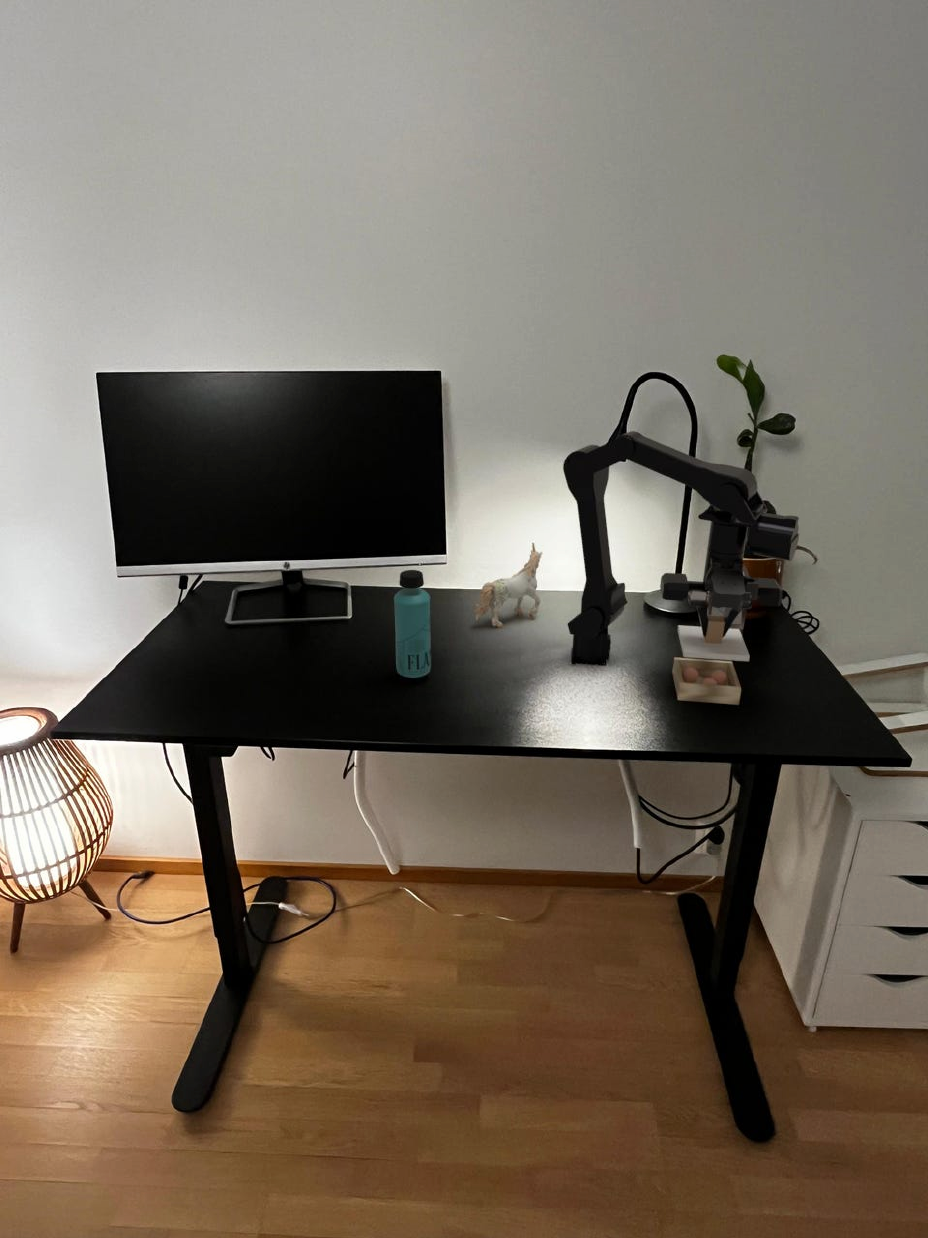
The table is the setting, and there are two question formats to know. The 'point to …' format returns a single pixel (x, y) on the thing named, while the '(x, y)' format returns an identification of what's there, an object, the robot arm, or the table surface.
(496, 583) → the unicorn figurine
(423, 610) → the beverage bottle
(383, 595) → the table surface
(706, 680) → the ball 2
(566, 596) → the table surface
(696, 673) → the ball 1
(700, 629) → the lid
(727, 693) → the box
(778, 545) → the robot arm
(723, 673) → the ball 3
